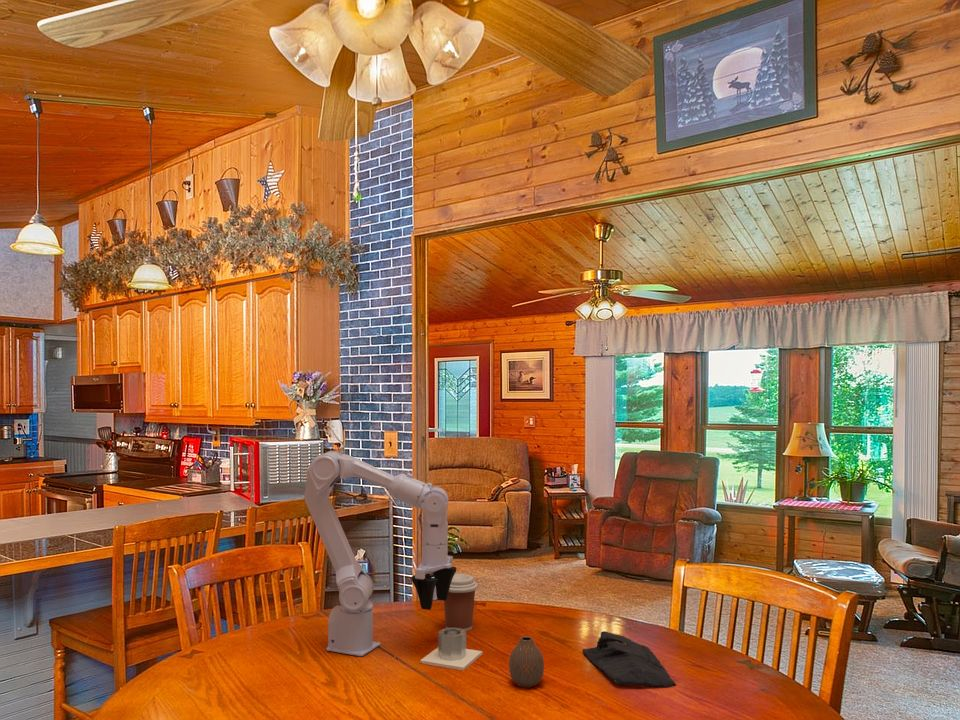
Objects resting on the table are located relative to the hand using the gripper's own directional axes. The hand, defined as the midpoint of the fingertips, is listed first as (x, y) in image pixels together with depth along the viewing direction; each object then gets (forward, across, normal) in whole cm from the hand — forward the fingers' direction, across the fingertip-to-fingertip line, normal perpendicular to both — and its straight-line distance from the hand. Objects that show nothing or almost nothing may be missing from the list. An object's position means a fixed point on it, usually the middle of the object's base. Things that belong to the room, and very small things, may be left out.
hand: (434, 604), depth 162 cm
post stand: (+10, -4, -6) cm, 12 cm away
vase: (+10, -9, -25) cm, 29 cm away
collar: (+9, -4, -6) cm, 12 cm away
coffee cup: (+10, +15, +1) cm, 18 cm away
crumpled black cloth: (+10, +7, -42) cm, 43 cm away
